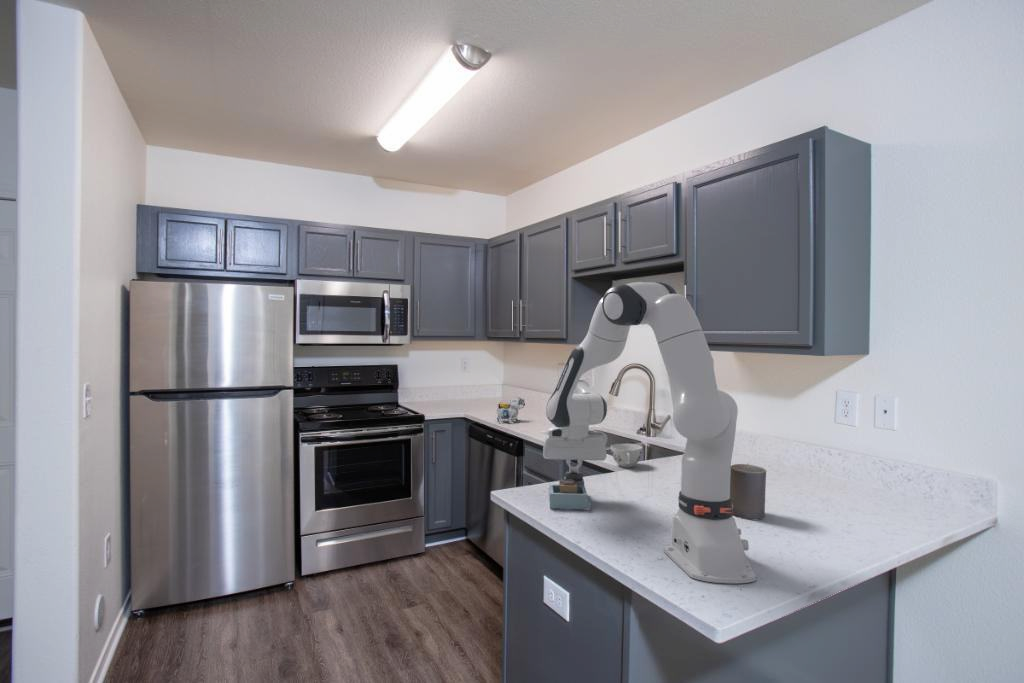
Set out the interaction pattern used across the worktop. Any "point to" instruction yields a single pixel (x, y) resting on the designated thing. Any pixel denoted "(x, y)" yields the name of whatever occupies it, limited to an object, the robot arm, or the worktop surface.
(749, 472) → the pillar candle
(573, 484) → the brown wooden block
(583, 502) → the teal open storage bin
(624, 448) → the teacup
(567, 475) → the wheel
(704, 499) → the robot arm
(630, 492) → the worktop surface
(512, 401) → the robotic toy
